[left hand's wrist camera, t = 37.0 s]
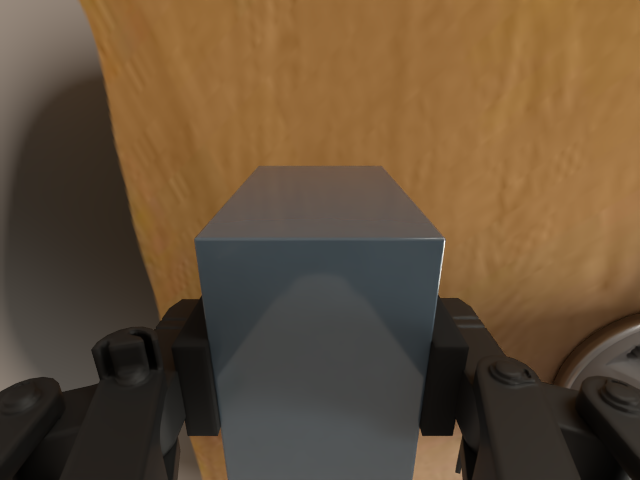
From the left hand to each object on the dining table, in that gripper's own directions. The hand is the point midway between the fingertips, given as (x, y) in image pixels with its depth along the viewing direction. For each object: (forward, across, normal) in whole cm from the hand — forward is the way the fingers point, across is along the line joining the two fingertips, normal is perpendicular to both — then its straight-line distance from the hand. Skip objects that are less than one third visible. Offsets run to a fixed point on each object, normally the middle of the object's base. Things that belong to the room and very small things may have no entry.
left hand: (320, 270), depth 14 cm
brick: (+2, 0, 0) cm, 2 cm away
